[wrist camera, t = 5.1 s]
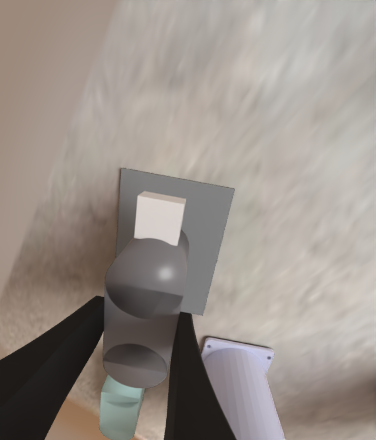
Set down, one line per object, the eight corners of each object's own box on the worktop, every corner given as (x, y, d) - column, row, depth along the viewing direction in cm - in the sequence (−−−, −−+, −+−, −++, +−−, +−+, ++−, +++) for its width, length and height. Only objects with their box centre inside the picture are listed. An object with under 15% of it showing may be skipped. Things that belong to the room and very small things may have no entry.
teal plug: (119, 337, 23) (101, 378, 19) (152, 343, 23) (141, 385, 19) (114, 402, 27) (98, 448, 22) (142, 407, 27) (131, 454, 22)
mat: (202, 312, 21) (202, 315, 21) (114, 296, 21) (112, 298, 21) (233, 188, 17) (234, 189, 16) (123, 167, 17) (121, 168, 16)
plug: (173, 331, 16) (163, 393, 12) (127, 322, 16) (102, 381, 12) (200, 195, 12) (199, 217, 8) (139, 183, 12) (106, 200, 8)
